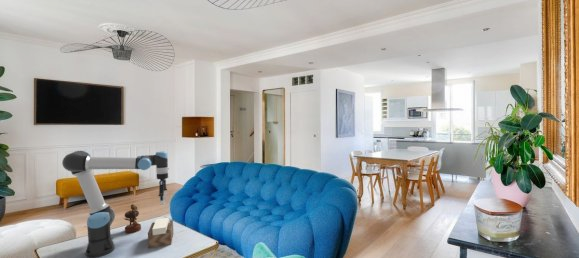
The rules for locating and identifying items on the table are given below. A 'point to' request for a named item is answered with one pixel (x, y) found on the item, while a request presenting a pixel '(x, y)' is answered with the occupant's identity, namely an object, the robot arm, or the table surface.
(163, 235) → the brown channel-shaped piece
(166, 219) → the thick cream rectangular block
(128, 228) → the music box
